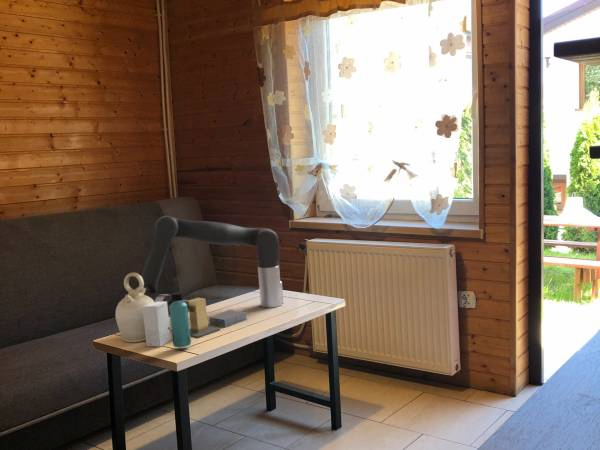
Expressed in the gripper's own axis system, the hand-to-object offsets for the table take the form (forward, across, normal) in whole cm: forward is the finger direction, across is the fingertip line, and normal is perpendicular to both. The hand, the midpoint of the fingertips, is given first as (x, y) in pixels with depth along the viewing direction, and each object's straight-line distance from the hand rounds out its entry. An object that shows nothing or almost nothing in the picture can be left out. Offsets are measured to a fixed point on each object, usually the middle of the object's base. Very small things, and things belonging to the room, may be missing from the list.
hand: (196, 308), depth 245 cm
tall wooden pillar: (+1, 0, +8) cm, 8 cm away
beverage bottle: (+11, -17, +9) cm, 22 cm away
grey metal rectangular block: (+1, +15, +9) cm, 18 cm away
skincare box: (-2, -17, +9) cm, 19 cm away
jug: (-15, -16, +9) cm, 24 cm away
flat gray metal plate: (+1, 0, +9) cm, 9 cm away
